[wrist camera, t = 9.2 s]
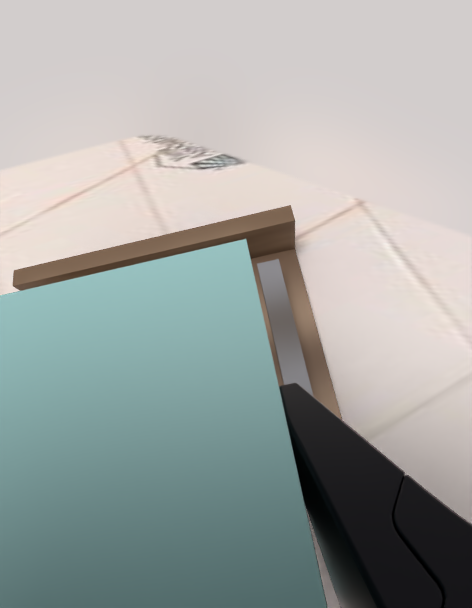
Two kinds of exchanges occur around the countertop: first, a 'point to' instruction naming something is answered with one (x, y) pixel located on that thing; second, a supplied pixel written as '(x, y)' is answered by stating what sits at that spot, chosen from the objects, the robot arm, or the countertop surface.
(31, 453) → the block
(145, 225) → the countertop surface
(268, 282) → the rack
